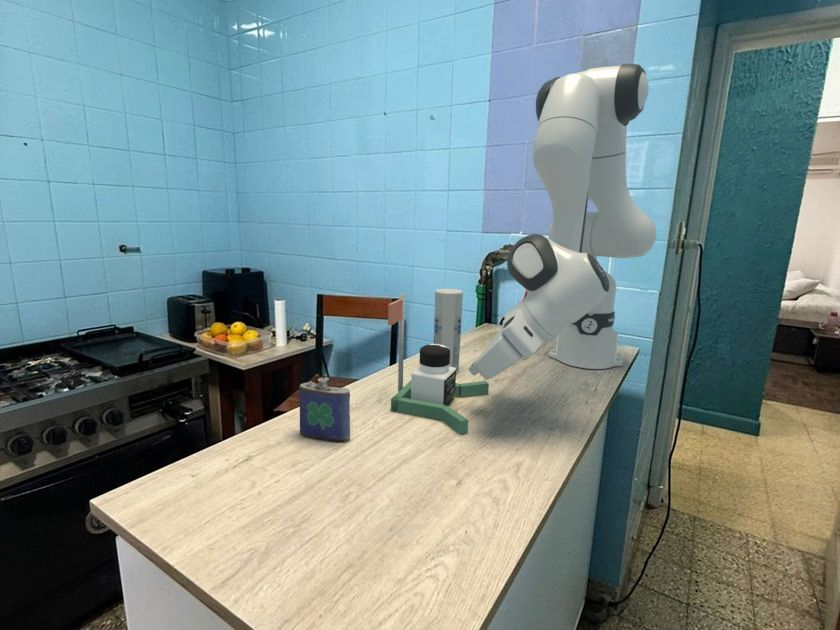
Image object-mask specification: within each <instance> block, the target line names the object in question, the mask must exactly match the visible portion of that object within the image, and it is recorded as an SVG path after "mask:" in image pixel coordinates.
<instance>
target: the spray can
mask: <svg viewBox="0 0 840 630" xmlns="http://www.w3.org/2000/svg"><path fill="white" fill-rule="evenodd" d="M463 295H464V291H463V290H462V289H456V288H438V289H435V291H434V321H433V323H434V324H433V325H434V326H433V344H439V345H443V346H446V347H448V348H449V349H450V367H455V368H456V375H458V373H459V371H460V370H459V369H460V350H461V349H460V348H461V336H462V335H461V333H462V316H463V314H462V313H463V299H464V297H463Z"/></svg>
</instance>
